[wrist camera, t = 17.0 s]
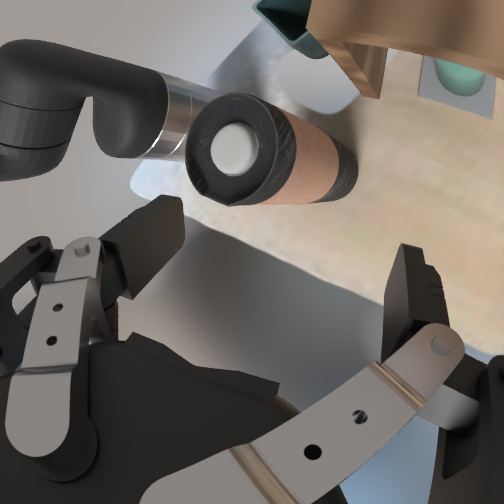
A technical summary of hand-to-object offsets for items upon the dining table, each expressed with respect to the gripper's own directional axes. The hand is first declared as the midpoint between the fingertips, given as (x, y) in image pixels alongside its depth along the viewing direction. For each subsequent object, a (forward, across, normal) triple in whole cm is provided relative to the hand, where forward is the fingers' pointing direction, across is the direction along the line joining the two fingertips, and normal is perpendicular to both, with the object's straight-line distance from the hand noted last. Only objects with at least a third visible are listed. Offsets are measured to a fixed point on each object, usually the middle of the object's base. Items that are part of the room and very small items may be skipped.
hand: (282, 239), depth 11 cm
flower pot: (+34, +3, -11) cm, 36 cm away
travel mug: (+27, +1, +6) cm, 28 cm away
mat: (+28, -13, -9) cm, 33 cm away
